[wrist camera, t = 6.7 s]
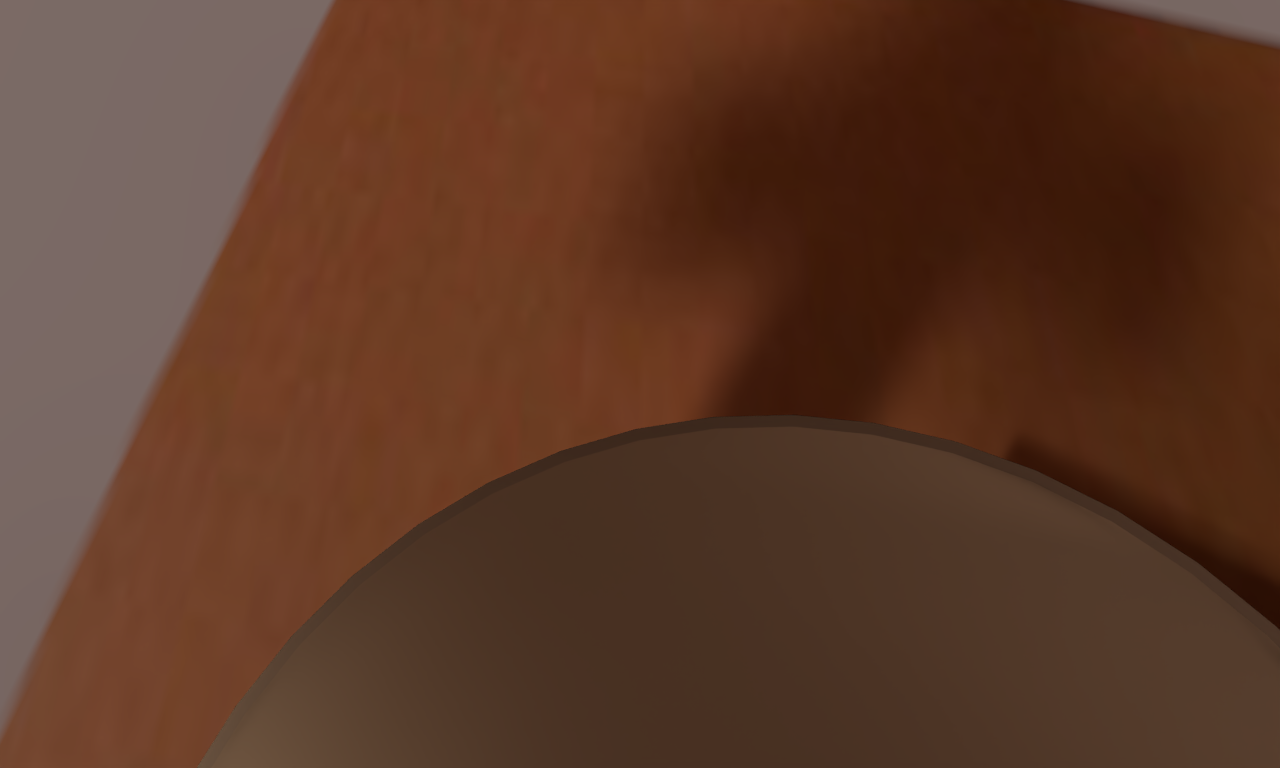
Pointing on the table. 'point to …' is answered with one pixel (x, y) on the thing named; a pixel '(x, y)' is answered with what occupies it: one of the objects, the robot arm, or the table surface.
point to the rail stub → (771, 621)
